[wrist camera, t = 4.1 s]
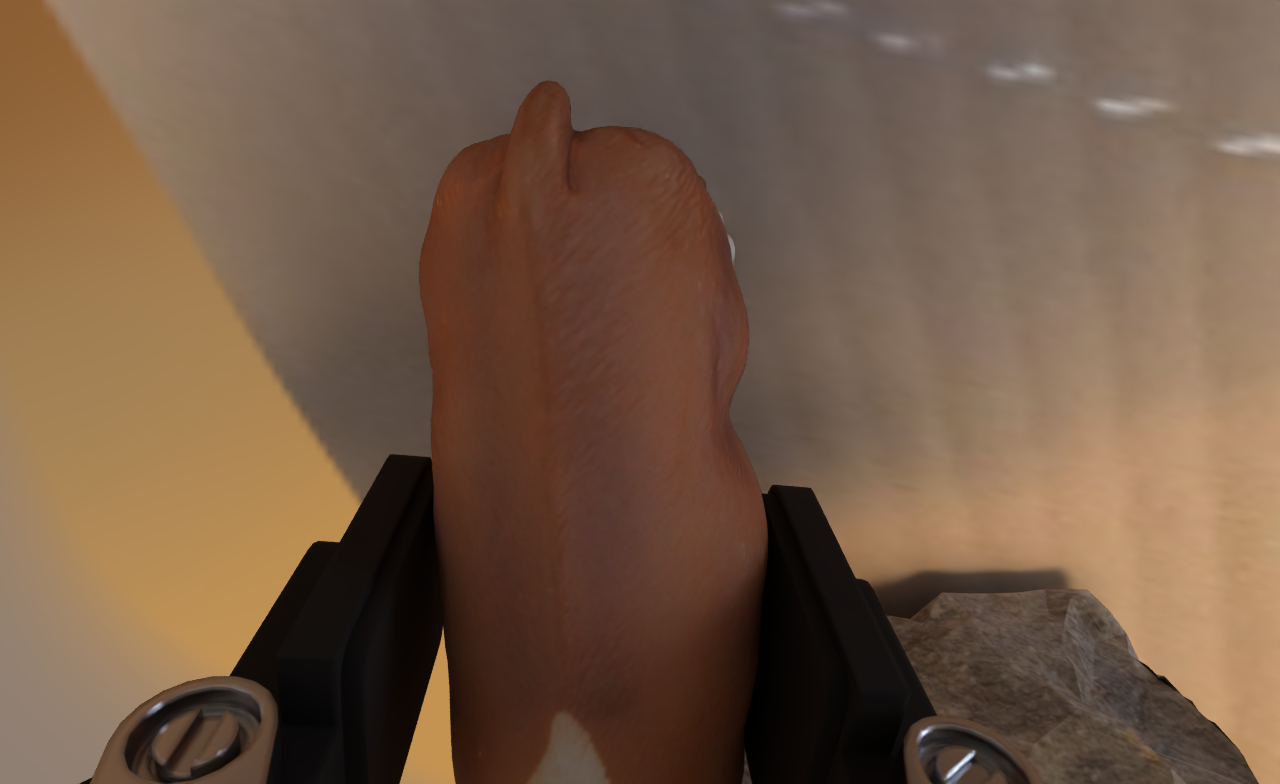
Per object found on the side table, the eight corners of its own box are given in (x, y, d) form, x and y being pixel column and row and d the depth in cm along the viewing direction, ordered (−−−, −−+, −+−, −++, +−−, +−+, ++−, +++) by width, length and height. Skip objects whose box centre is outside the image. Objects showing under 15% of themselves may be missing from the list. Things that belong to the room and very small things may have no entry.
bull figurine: (520, 785, 16) (307, 1301, 8) (547, 143, 14) (268, 0, 6) (720, 818, 16) (697, 1402, 8) (792, 157, 13) (867, 24, 5)
